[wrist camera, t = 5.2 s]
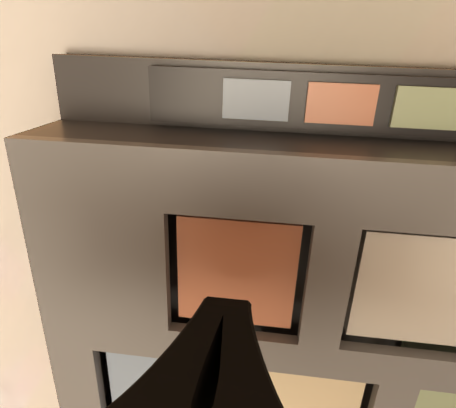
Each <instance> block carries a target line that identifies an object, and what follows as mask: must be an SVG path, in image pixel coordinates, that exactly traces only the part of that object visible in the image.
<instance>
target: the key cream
mask: <svg viewBox="0 0 456 408" xmlns="http://www.w3.org/2000/svg"><path fill="white" fill-rule="evenodd" d="M344 329H345V333H346V335H354V336H363V337H373V338H382V339H391V340H400V341H410V342H419V343H428V344H438V345H447V346H456V237H450V236H437V235H425V234H412V233H400V232H388V231H375V230H362V235H361V240H360V245H359V250H358V255H357V260H356V265H355V270H354V275H353V280H352V286H351V291H350V296H349V301H348V306H347V311H346V316H345V321H344Z"/></svg>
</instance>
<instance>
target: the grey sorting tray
mask: <svg viewBox="0 0 456 408" xmlns="http://www.w3.org/2000/svg"><path fill="white" fill-rule="evenodd" d="M52 58H53V65H54V72H55V79H56V86H57V93H58V100H59V107H60V114H61V120H58V121H55V122H52V123H49V124H46V125H43V126H40V127H36V128H33V129H30V130H27V131H24V132H21V133H18V134H15V135H11V136H8V137H5V138H4V141H5V146H6V151H7V156H8V161H9V166H10V170H11V175H12V180H13V185H14V190H15V195H16V199H17V204H18V209H19V214H20V219H21V224H22V228H23V233H24V238H25V243H26V248H27V252H28V257H29V262H30V267H31V272H32V277H33V281H34V286H35V291H36V296H37V301H38V306H39V310H40V315H41V320H42V325H43V330H44V335H45V339H46V344H47V349H48V354H49V359H50V364H51V368H52V373H53V378H54V383H55V388H56V392H57V397H58V402H59V407H60V408H106V407H107V406H109V405H110V404H111V403H112V397H111V389H110V381H109V374H108V366H107V358H106V352H109V353H117V354H125V355H134V356H142V357H151V358H159V357H160V356H161V355H162V353H163V352H164V351H165V350H166V349H167V348H168V347H169V346H170V344H171V343H172V342H173V341H174V340H175V338H176V337H177V336H178V335H179V333H180V332H181V331H182V330H183V328H184V327H185V326H186V324H187V323H188V322H189V320H190V319H191V318H186V317H179V310H178V269H177V228H176V216H177V215H188V216H201V217H213V218H226V219H238V220H251V221H263V222H275V223H288V224H300V225H303V232H302V240H301V248H300V256H299V264H298V272H297V280H296V288H295V296H294V304H293V311H292V319H291V327H290V329H289V328H279V327H270V326H261V325H254V328H255V332H256V336H257V340H258V343H259V346H260V349H261V353H262V356H263V359H264V362H265V364H266V367H267V370H268V372H277V373H285V374H293V375H302V376H310V377H319V378H327V379H335V380H344V381H352V382H360V383H366V385H365V389H364V394H363V398H362V402H361V406H360V408H415V405H416V401H417V398H418V395H419V392H420V390H428V391H436V392H444V393H453V394H456V353H452V352H443V351H434V350H425V349H416V348H407V347H401V343H402V341H400V340H391V339H382V338H373V337H363V336H354V335H346V333H345V329H344V321H345V316H346V311H347V306H348V301H349V296H350V291H351V286H352V280H353V275H354V270H355V265H356V260H357V255H358V250H359V245H360V240H361V235H362V230H375V231H388V232H400V233H412V234H425V235H437V236H450V237H456V69H439V68H413V67H388V66H362V65H336V64H310V63H284V62H259V61H233V60H207V59H181V58H155V57H130V56H104V55H78V54H52ZM409 342H410V341H409ZM418 343H419V342H418ZM437 345H438V344H437ZM446 346H447V345H446Z"/></svg>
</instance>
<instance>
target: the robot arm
mask: <svg viewBox="0 0 456 408" xmlns="http://www.w3.org/2000/svg"><path fill="white" fill-rule="evenodd" d="M251 305H252V304H251V303H250V302H249V301H248V300H239V299H229V298H219V297H209V296H207V297H206V298H205V299H203V301H202V303H201V304H200V306H199V308H198V309H197V311H196V312H195V313H194V315H193V316H192V318H191V319H190V320H189V322H188V323H187V324H186V326H185V327H184V328H183V330H182V331H181V332H180V333H179V335H178V336H177V337H176V338H175V340H174V341H173V342H172V343H171V344H170V346H169V347H168V348H167V349H166V350H165V351H164V352H163V353H162V355H161V356H160V357H159V358H158V359H157V360H156V361H155V362H154V363H153V364H152V366H151V367H150V368H149V369H148V370H147V371H146V372H145V373H144V374H143V375H142V376H141V377H140V378H139V379H138V380H137V381H136V382H135V383H133V384H132V385H131V386H130V387H129V388H128V389H127V390H126V391H125V392H124V393H123V394H122V395H120V396H119V397H118V398H117V399H116V400H114V401H113V402H112V403H111V404H110V405H109V406H107V407H106V408H284V407H283V405H282V403H281V401H280V398H279V396H278V394H277V392H276V389H275V387H274V385H273V382H272V380H271V377H270V375H269V372H268V370H267V367H266V364H265V362H264V359H263V356H262V353H261V349H260V346H259V343H258V340H257V336H256V332H255V328H254V324H253V318H252V310H251Z"/></svg>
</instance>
